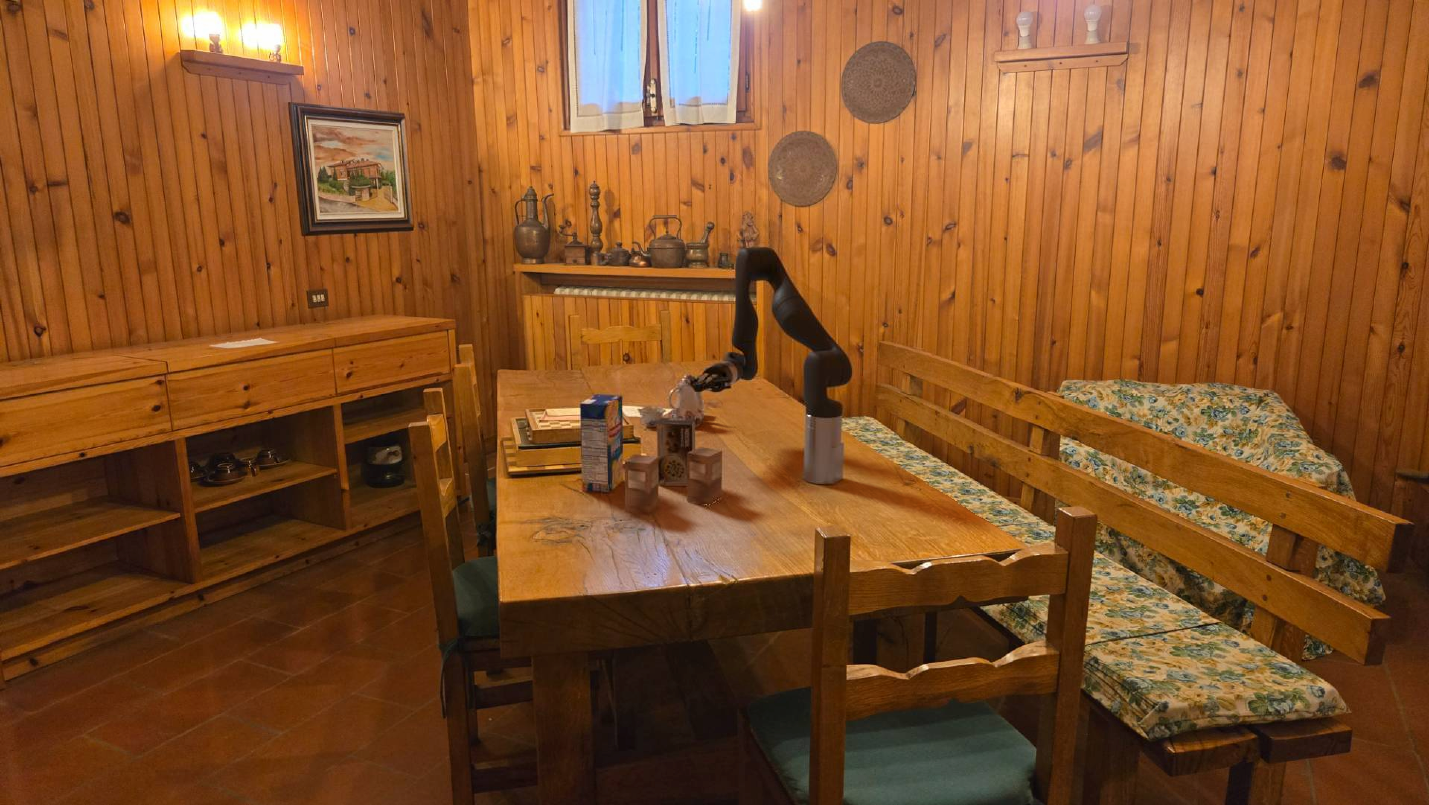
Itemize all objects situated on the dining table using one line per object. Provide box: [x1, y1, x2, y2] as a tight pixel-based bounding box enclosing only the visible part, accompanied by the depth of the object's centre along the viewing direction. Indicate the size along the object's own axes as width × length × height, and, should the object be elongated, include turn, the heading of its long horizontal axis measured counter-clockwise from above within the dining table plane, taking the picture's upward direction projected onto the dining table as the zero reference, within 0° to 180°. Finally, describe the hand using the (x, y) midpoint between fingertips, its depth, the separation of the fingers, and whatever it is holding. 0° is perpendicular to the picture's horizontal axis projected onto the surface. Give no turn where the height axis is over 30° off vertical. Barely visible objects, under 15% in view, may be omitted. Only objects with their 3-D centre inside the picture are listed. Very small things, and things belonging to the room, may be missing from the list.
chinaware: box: [637, 374, 709, 428], centre depth 294 cm, size 28×17×17 cm, turn 141°
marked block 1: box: [624, 454, 659, 515], centre depth 215 cm, size 6×6×12 cm
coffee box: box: [656, 417, 696, 487], centre depth 234 cm, size 9×6×16 cm
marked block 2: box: [686, 446, 723, 505], centre depth 222 cm, size 6×6×12 cm
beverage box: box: [579, 393, 624, 494], centre depth 231 cm, size 7×11×22 cm, turn 166°
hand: (697, 388), depth 242 cm, fingers closed
